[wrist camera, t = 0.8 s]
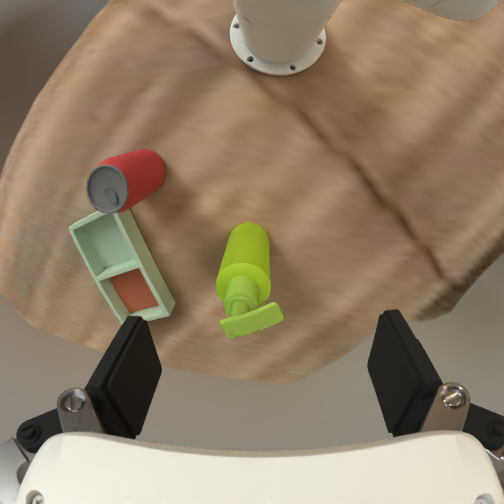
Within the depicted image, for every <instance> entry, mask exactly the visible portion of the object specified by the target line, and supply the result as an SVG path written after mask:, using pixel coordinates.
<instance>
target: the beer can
mask: <svg viewBox="0 0 504 504" xmlns="http://www.w3.org/2000/svg"><path fill="white" fill-rule="evenodd" d="M164 179H165V165H164V163H163V161H162V159H161V158H160V157H159V156H158V154H156V153H155V152H153V151H151V150H145V149H144V150H138V151H134V152H130V153H126V154H123V155H119V156H115V157H111V158H108V159H106V160H104V161H103V162H101V163H100V164H99V165H98V166H97V167H96V168H95V169H93V171H92V172H91V173H90V175H89V177H88V180H87V186H86V190H87V196H88V198H89V200H90V203H91V204H92V205H93V206H94V207H95V209H97V210H98V211H100V212H102V213H106V214H111V213H118V212H124V211H126V210H128V209H130V208H131V207H133V206H134V205H136V204H137V203H139V202H140V201H142V200H143V199H145V198H146V197H148V196H149V195H151V194H152V193H154V192H155V191H157V190H158V189H159V188H160V187H161V185H162V183H163V181H164Z"/></svg>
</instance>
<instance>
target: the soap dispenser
mask: <svg viewBox="0 0 504 504" xmlns="http://www.w3.org/2000/svg"><path fill="white" fill-rule="evenodd" d="M270 290H271V281H270V254H269V238H268V234H267V233H266V231H265V230H264V229H263V228H262V227H261V226H259V225H258V224H255V223H249V222H248V223H242V224H239V225H238V226H236V227H235V228H234V229H233V230H232V232H231V233H230V236H229V239H228V243H227V246H226V249H225V253H224V256H223V259H222V263H221V266H220V269H219V273H218V276H217V280H216V291H217V294H218V296H219V297H220V299H221V300H222V301H223V302H224V310H225V312H226V313H227V314H228V315H229V316H230V317H229V318H226V319H222V320H220V325H221V327H222V329H223V330H224V332H225V333H226V335H227V337H228V338H229V339H230V338H235V337H239V336H243V335H247V334H251V333H254V332H257V331H260V330H263V329H266V328H268V327H270V326H272V325H274V324H277V323H279V322H280V321H282V320H284V317H283V315H282V312H281V310H280V308H279V306H278V304H277V303H274V302H272V303H269V304H267V305H265V306H263V307H261V308H258V306H260V305H262V304H263V303H264V302H265V301H266V300H267V298H268V296H269V294H270Z"/></svg>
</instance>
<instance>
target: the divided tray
mask: <svg viewBox="0 0 504 504" xmlns="http://www.w3.org/2000/svg"><path fill="white" fill-rule="evenodd" d="M68 229H69V231H70V234H71V236H72V238H73V240H74V242H75V244H76V246H77V248H78V250H79V252H80V254H81V256H82V258H83V260H84V262H85V264H86V265H87V267H88V269H89V271H90V273H91V275H92V276H93V278H94V280H95V282H96V284H97V285H98V287H99V289H100V291H101V292H102V294H103V296H104V297H105V299H106V301H107V302H108V304H109V306H110V307H111V309H112V311H113V312H114V314H115V315H116V317H117V319H118V320H119V322H120V323H121V325H122V324H123V323H124V321H125V319H126V318H127V317H128V316H141V317H142V318H143V319H144V320H146V321H150V320H155V319H159V318H163V317H167V316H170V315H171V312H172V310H173V308H174V305H175V304H176V302H175V301H174V299H173V297H172V295H171V293H170V291H169V289H168V287H167V286H166V284H165V282H164V280H163V278H162V276H161V274H160V272H159V270H158V268H157V266H156V264H155V262H154V260H153V258H152V256H151V254H150V252H149V250H148V248H147V246H146V244H145V241H144V239H143V237H142V235H141V233H140V231H139V229H138V227H137V224H136V222H135V220H134V218H133V216H132V213H131V211H130V209H128V210H126V211H124V212H118V213H111V214H106V213H102V212H100V211H96V212H94V213H93V214H91V215H89V216H87V217H85V218H83V219H81V220H79V221H78V222H76V223H74V224H73V225H71V226H70V227H68Z"/></svg>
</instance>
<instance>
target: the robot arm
mask: <svg viewBox="0 0 504 504" xmlns="http://www.w3.org/2000/svg"><path fill="white" fill-rule="evenodd" d="M400 1H403V2H405V3H408V4H411V5H413V6H416V7H418V8H421V9H423V10H426V11H428V12H430V13H433V14H435V15H438V16H441V17H444V18H447V19H450V20H455V21H472V20H476V19H478V18H481V17H483V16H484V15H486V14H487V13H488V12H490V11H491V10H492V9H493V8H494V7H495V5H496V4H497V3H498V1H499V0H400ZM340 2H341V0H233V3H234V7H235V11H236V15H235V17H234V19H233V21H232V23H231V28H230V40H231V43H232V46H233V49H234V51H235V52H236V54H237V55H238V57H239V58H240V59H241V60H242V61H243V62H244V63H245V64H246V65H248V66H249V67H251V68H252V69H255V70H257V71H259V72H262V73H265V74H269V75H277V76H281V75H291V74H295V73H298V72H301V71H303V70H305V69H307V68H308V67H310V66H311V65H312V64H314V63H315V62H316V61H317V59H318V58H319V57H320V56H321V54H322V52H323V50H324V47H325V43H326V33H325V28H324V27H325V26H326V24H327V22H328V21H329V19H330V18H331V16H332V15H333V13H334V12H335V10H336V9H337V7H338V6H339V4H340ZM236 27H239V28H238V29H236ZM317 42H319V43H320V45H319V44H317ZM250 59H252V60H253V61H252V62H249V60H250ZM291 67H293V68H294V70H291V69H290V68H291ZM161 371H162V368H161V363H160V361H159V358H158V355H157V352H156V349H155V345H154V342H153V339H152V336H151V333H150V329H149V326H148V323H147V321H146V320H144V319H143V318H142V317H141V316H128V317H127V318H126V319H125V321H124V323H123V324H122V326H121V327H120V329H119V331H118V332H117V334H116V336H115V337H114V339H113V341H112V342H111V344H110V346H109V347H108V349H107V350H106V352H105V354H104V356H103V357H102V359H101V361H100V362H99V364H98V366H97V368H96V370H95V371H94V373H93V375H92V377H91V378H90V380H89V382H88V384H87V385H86V387H85V389H81V388H71V389H68V390H66V391H64V392H63V393H62V394H61V395H60V397H59V398H58V401H57V408H56V409H54V410H51V411H49V412H47V413H44V414H42V415H40V416H37V417H35V418H32V419H30V420H27V421H25V422H24V423H22V424H21V425H20V426H19V428H18V430H17V434H16V435H17V438H16V439H14V438H13V437H12V438H11V439H9V440H8V441H6V442H5V443H4V444H3V445H1V446H0V503H1V504H504V416H502V415H499V414H497V413H494V412H491V411H489V410H487V409H484V408H482V407H479V406H477V405H474V404H472V403H470V395H469V392H468V391H467V389H466V388H465V387H463V386H462V385H460V384H458V383H454V382H451V383H445V384H443V383H442V381H441V379H440V377H439V375H438V373H437V372H436V370H435V368H434V366H433V364H432V362H431V361H430V359H429V357H428V355H427V354H426V352H425V350H424V348H423V347H422V345H421V343H420V342H419V340H418V339H416V338H415V336H414V334H413V332H412V331H411V329H410V327H409V326H408V324H407V322H406V321H405V319H404V317H403V316H402V314H401V313H400V311H399V310H397V309H396V310H386V311H384V313H383V314H381V315H380V316H379V320H378V324H377V328H376V333H375V337H374V341H373V345H372V349H371V352H370V356H369V359H368V371H369V374H370V377H371V380H372V383H373V385H374V389H375V392H376V395H377V398H378V401H379V404H380V407H381V411H382V414H383V417H384V420H385V423H386V426H387V430H388V432H389V433H392V434H393V437H392V438H388V439H382V440H377V441H371V442H365V443H358V444H352V445H344V446H338V447H328V448H318V449H306V450H289V451H228V450H211V449H199V448H188V447H180V446H172V445H165V444H159V443H152V442H146V441H140V440H135V438H136V435H140V433H141V430H142V427H143V424H144V421H145V418H146V415H147V413H148V410H149V406H150V404H151V401H152V398H153V395H154V392H155V390H156V387H157V384H158V381H159V378H160V376H161Z"/></svg>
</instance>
